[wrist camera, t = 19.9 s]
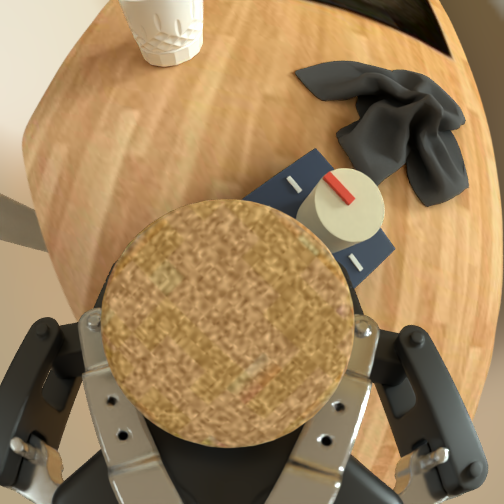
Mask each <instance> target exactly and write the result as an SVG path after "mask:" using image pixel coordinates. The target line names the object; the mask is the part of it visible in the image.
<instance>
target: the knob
mask: <svg viewBox="0 0 504 504" xmlns="http://www.w3.org/2000/svg"><path fill="white" fill-rule="evenodd" d="M383 218H384V202H383V198H382V195H381V193H380V191H379V189H378V187H377V186H376V184H375V183H374V182H373V181H372V180H371V179H370V178H369V177H368V176H366V175H365V174H363V173H361V172H359V171H357V170H354V169H349V168H339V169H335V170H332V171H329V172H328V173H327V174H326V175H324V176H323V177H322V178H321V180H320V181H319V182H318V184H317V185H316V186H315V187H314V189H313V190H312V191H311V193H310V194H309V195H308V197H307V198H306V199H305V200H304V202H303V203H302V204H301V206H300V208H299V210H298V212H297V216H296V220H297V221H299V222H300V223H301V224H303V225H304V226H305V227H307V228H308V229H309V230H310V231H311V232H312V233H314V234H315V235H316V236H317V237H318V238H319V239H320V240H321V241H322V242H323V243H324V244H325V246H326V247H327V248H328V249H329V250H330V252H331V253H335V252H338V251H340V250H343V249H345V248H348V247H350V246H353V245H355V244H358V243H360V242H363V241H365V240H367V239H369V238H371V237H372V236H373V235H375V234H376V233H377V231H378V230H379V228H380V227H381V225H382V222H383Z"/></svg>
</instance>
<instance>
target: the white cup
mask: <svg viewBox="0 0 504 504" xmlns="http://www.w3.org/2000/svg"><path fill="white" fill-rule="evenodd" d="M118 1H119V3H120V6H121V8H122V11H123V13H124V16H125V18H126V20H127V23H128V25H129V28H130V30H131V32H132V34H133V36H134V39H135V41H136V42H137V44H138V45H139V48H140V50H141V53H142V55H143V58H144V59H145V60H146V61H147V62H148V63H150V64H151V65H155V66H161V67H166V66H174V65H178V64H181V63H183V62H185V61H188V60H190V59H191V58H192V57H194V56H195V55H196V54H197V53H198V52H199V51H200V49H201V46H202V44H203V35H202V28H203V0H118Z"/></svg>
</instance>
